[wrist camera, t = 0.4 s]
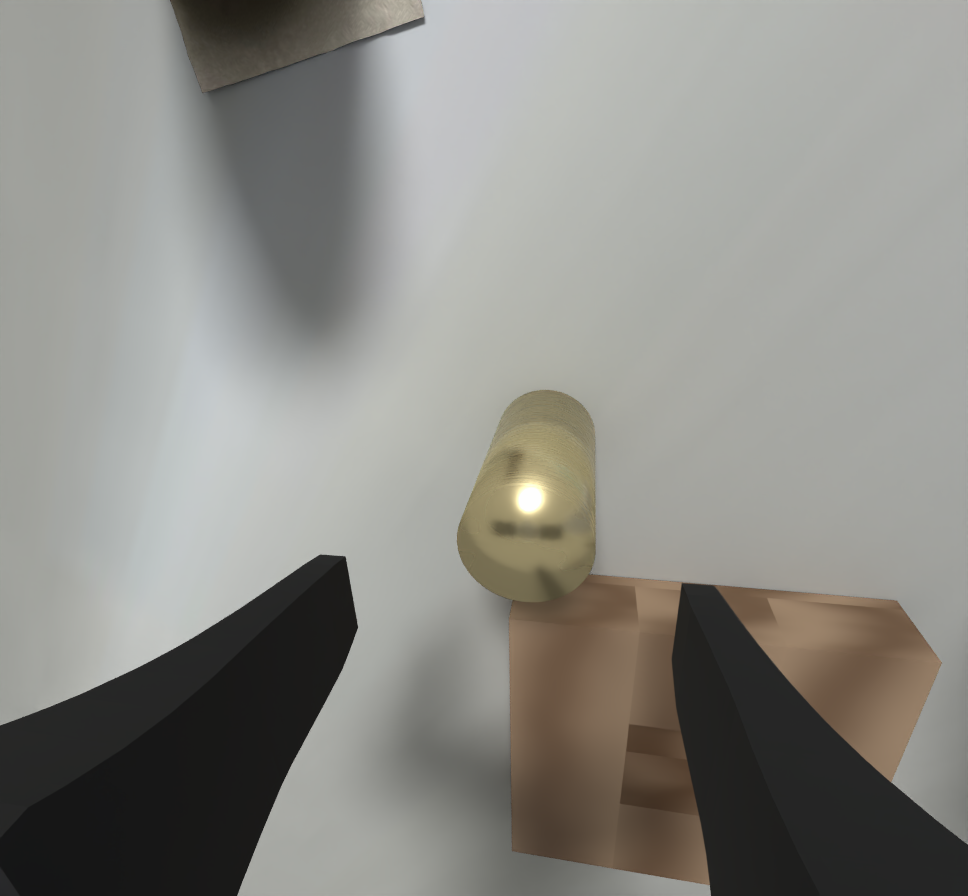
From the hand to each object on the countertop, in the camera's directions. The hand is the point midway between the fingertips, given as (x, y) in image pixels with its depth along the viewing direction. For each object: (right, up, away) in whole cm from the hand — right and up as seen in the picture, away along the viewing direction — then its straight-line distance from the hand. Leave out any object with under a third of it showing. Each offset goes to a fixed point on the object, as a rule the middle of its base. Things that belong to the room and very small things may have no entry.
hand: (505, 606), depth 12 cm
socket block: (+8, -8, +13) cm, 17 cm away
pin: (+2, +4, +8) cm, 9 cm away
